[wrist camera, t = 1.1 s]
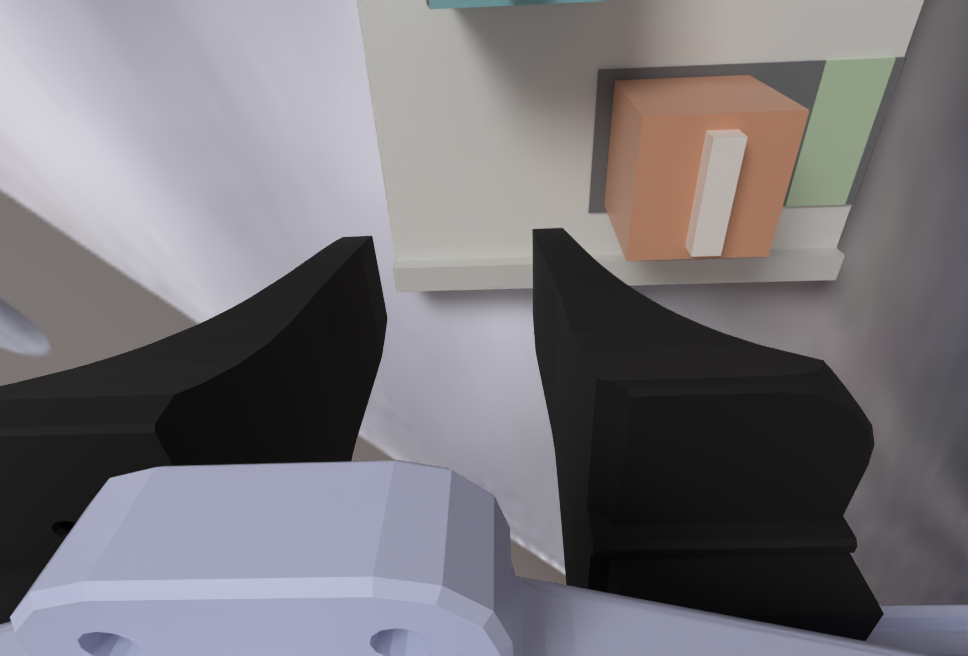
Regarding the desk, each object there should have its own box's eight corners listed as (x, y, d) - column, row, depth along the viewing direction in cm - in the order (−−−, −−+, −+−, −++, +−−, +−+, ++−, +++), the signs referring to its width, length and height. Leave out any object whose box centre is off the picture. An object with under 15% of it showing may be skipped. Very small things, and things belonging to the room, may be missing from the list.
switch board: (1001, -312, 13) (1063, -341, 12) (813, 256, 22) (835, 279, 20) (327, -268, 14) (307, -291, 12) (403, 268, 23) (396, 291, 21)
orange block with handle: (749, 74, 17) (821, 116, 13) (722, 200, 19) (777, 267, 16) (614, 80, 17) (648, 123, 13) (603, 204, 19) (630, 271, 16)
